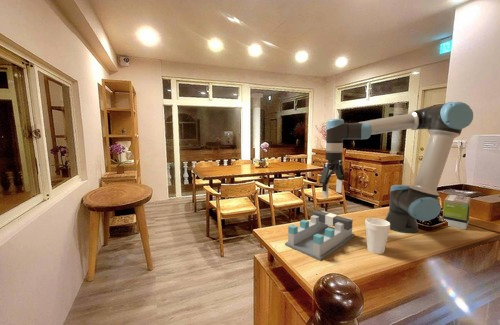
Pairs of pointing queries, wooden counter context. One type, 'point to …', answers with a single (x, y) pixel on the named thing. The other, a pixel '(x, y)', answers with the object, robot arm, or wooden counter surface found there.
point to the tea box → (457, 211)
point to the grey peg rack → (317, 237)
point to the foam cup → (376, 234)
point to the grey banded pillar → (333, 219)
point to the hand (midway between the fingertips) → (332, 195)
